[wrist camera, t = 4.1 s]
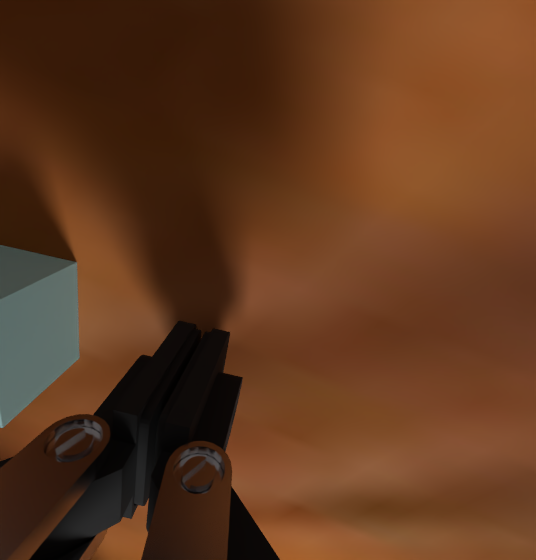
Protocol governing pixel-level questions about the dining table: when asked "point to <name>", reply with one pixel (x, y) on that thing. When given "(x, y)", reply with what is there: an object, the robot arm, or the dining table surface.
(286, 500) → the dining table surface
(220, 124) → the dining table surface
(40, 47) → the dining table surface
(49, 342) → the t block
